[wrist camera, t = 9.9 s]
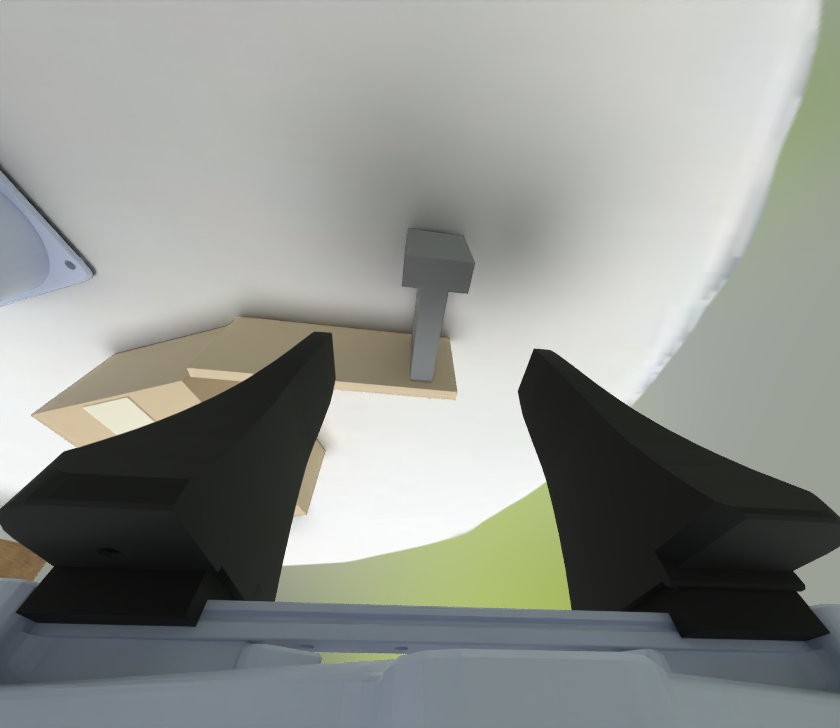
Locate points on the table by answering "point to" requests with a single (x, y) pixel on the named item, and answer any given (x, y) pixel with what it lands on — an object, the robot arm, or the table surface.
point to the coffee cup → (17, 559)
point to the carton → (146, 398)
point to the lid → (365, 333)
